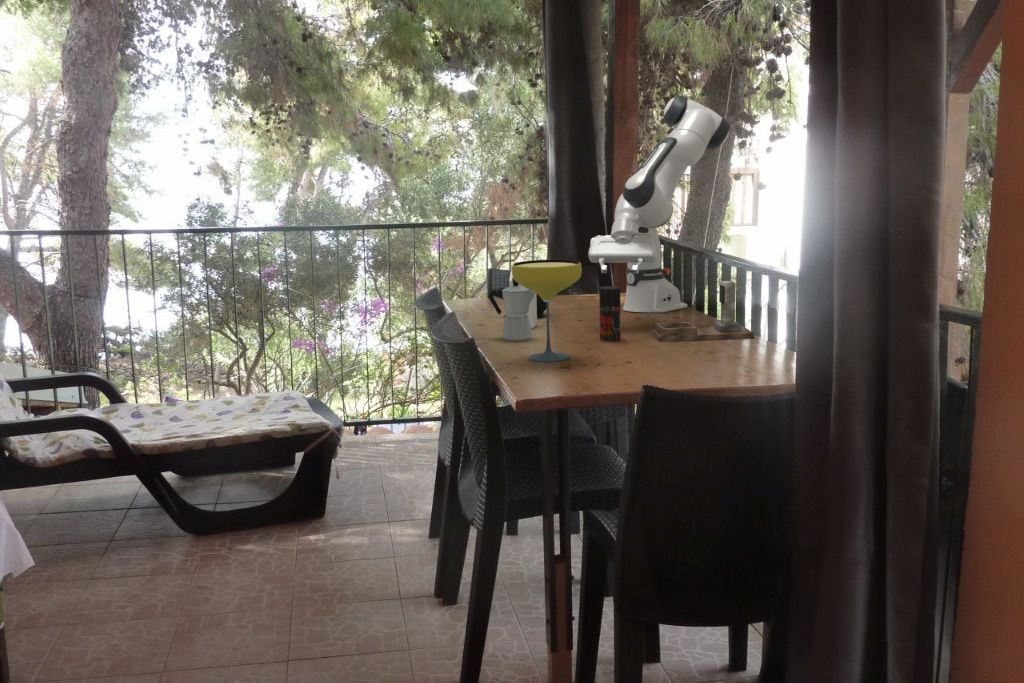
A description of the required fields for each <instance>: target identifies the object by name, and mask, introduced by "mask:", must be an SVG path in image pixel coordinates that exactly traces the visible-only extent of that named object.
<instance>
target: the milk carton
mask: <svg viewBox="0 0 1024 683" xmlns="http://www.w3.org/2000/svg"><path fill="white" fill-rule="evenodd" d="M512 278H513V276H512V266H510V275H509V279H508V280H509V282H508V283H509V284H508V285H509V286H508V287H511V286H513V282H512ZM518 286H522V285H520V284H519V285H518ZM522 287H523V286H522ZM527 316H528V318H529V323H530V328H531V329H534V328H535V327H536V326H537V325H538V317H537V298H536V293H535V295H534V296H533V298H532V300H531V302H530V304H529V310H528V312H527Z"/></svg>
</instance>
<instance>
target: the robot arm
mask: <svg viewBox="0 0 1024 683" xmlns="http://www.w3.org/2000/svg"><path fill="white" fill-rule="evenodd" d="M662 118H663V122H664V123H665V124H666V125H667V126H668V127H670V128H672V129H673V130H672V131H671V132H670V133H669V135H667V137H664V138H663V139H661V140H660V141H659V142H658V143H657V144H656V145H655V146H654V148H653V149H652V150H651V152H649V154H648V155H647V157H646V158H645V160H643V162H642V163H641V165H640V166H639V167H638V168H637V170H636V171H635V172H634V173H633V174H632V175H631V176H630V177H629V178H628V179H627V180H626V181H625V183H624V186H623V189H622V193H621V194H620V196H619V198H618V200H617V203H616V205H615V210H614V216H613V217H614V221H613V223H612V226H611V232H610V234H609V235H599V234H598V235H596V236H594V237H592V238H591V239H590V243H589V249H588V252H587V254H588V260H589V261H590V263H596V264H597V263H599V266H600V273H601V274H607V272H608V266H607V265H605V264H608V263H609V264H620V263H621V264H627V267H626V270H625V278H626V291H625V299H624V303H623V307H622V310H623V311H626V312H631V313H632V312H633V313H635V312H636V313H666V312H671V311H675V310H680V309H681V310H682V309H685V308H688V304H687V303H686V302H681V292H680V290H679V289H678V288H677V287H676V286H675V285H673V284H672V283H671V282H670V281H669V280H667V279H666V278H665V275H670V274H671V270H670V268H666V267H664V268H663V267H661V266H662V265H661V263H662V262H661V261H662V260H661V256H662V255H661V252H662V251H661V247H662V246H661V242H660V239H659V234H658V229H657V228H659V227H663V226H665V225H666V224H667V223H668V222H669V220H670V219H671V217H672V216H673V213H674V212H673V211H674V206H673V204H672V203H671V202H672V200H673V197H674V193H675V191H676V189H677V187H678V185H679V183H680V181H681V180H682V178H683V176H684V174H685V172H686V171H687V169H688V168H689V167H690V166H693V165H695V164H697V163H698V162H699V161H700V160H701V158H702V157H703V154H704V153H705V151H706V150H715V149H718V148H719V147H720V146H722V145H723V144H724V143H725V142H726V141H727V140H728V137H729V134H730V130H731V124H730V122H729V121H728V120H727V119H726V118H725V117H723V116H721V115H720V114H718V113H717V112H716V111H714V110H712V109H711V108H709V107H708V106H705V105H703V104H701V103H699V102H697V101H694V100H693V99H690V98H688V96H684V95H681V94H678V95H675V96H674V97H673V98H671V99H670V100H669V101H668V102H667V103H666V105H665V107H664V110H663V115H662Z"/></svg>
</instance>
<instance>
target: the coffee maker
mask: <svg viewBox="0 0 1024 683" xmlns="http://www.w3.org/2000/svg"><path fill="white" fill-rule="evenodd" d="M512 282H513V286H511V287H509V286H508V287H505V286H504V287H503V286H501V287H499V288H497V289H496V288H494V289H492V290H490V292H489V294H488V300H489V301H490V303H491V304H492V306H493V307H494V309H495V311H496V313H497V314H498V315H501V314H502V312H503V311H502V310H501V309H500V306H499V305H498V304H497V301H496V299H495V298H494V296H495V297H496V298H499V299H501V300H503V307H504V311H505V314H506V316H505V317H504V324H503V332H502V333H503V334H502V340H504V341H506V342H525V341H526V342H527V341H530V340H531V339H533V335H532V328H530V323H529V318H528V316H527V312H528V310H529V304H530V302H531V300H532V298H533V296H534V295H535V292H533V291H531V290H529V289H527V288H525V287H522V286H518V285H519V283H517V282H516V281H515V280H514V279H513V278H512Z"/></svg>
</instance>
